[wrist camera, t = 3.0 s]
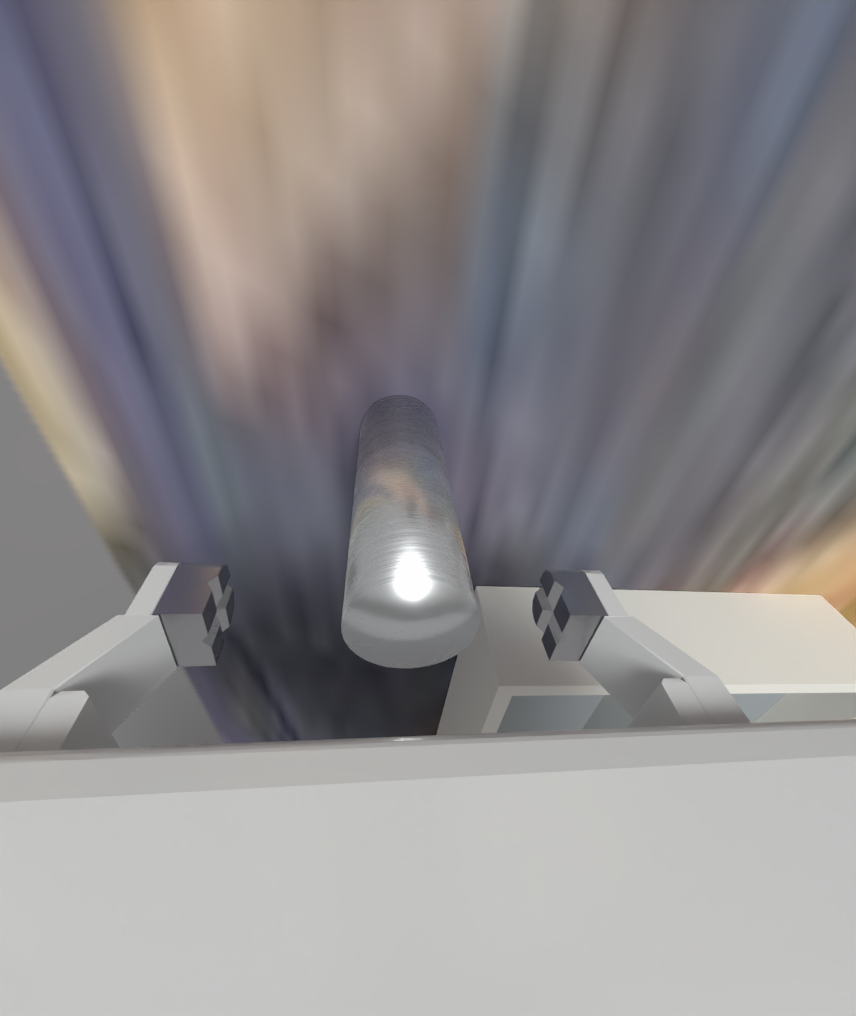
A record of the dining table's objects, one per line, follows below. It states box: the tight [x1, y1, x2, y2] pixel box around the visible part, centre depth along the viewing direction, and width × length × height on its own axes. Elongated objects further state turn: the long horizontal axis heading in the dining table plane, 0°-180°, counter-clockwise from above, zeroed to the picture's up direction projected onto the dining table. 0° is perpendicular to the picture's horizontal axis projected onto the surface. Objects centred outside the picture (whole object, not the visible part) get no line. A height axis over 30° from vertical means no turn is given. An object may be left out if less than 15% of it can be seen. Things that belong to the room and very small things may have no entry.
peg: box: [341, 395, 480, 668], centre depth 14 cm, size 3×3×10 cm
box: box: [436, 586, 856, 735], centre depth 30 cm, size 22×22×6 cm
